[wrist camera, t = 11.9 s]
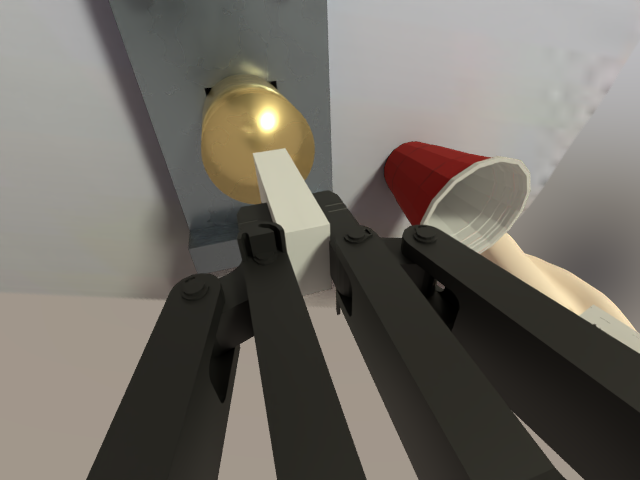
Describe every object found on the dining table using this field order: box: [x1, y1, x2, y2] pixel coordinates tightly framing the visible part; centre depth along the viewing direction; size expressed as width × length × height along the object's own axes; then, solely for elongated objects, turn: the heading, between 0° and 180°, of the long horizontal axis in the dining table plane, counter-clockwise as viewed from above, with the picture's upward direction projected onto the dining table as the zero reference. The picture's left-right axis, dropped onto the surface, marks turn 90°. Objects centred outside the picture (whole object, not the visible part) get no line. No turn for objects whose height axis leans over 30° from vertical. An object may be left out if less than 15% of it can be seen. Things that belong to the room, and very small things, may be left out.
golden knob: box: [201, 74, 315, 204], centre depth 23 cm, size 7×7×10 cm
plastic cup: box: [384, 141, 530, 254], centre depth 31 cm, size 11×11×12 cm
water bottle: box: [480, 233, 640, 353], centre depth 34 cm, size 10×9×28 cm
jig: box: [109, 0, 333, 274], centre depth 25 cm, size 24×14×6 cm, turn 4°
